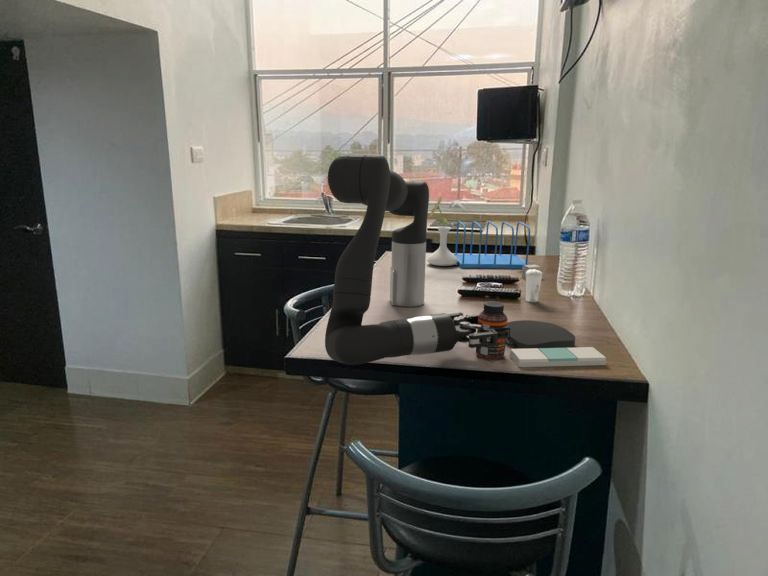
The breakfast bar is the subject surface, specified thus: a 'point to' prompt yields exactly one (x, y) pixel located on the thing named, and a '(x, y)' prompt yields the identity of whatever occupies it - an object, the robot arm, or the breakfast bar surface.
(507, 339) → the media streaming box
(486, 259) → the file sorter
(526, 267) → the usb wall charger
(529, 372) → the breakfast bar surface
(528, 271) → the milkshake
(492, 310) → the supplement bottle
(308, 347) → the breakfast bar surface
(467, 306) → the breakfast bar surface
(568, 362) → the key strip
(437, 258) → the flower in vase
